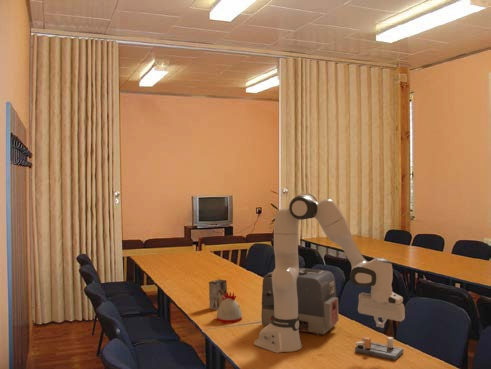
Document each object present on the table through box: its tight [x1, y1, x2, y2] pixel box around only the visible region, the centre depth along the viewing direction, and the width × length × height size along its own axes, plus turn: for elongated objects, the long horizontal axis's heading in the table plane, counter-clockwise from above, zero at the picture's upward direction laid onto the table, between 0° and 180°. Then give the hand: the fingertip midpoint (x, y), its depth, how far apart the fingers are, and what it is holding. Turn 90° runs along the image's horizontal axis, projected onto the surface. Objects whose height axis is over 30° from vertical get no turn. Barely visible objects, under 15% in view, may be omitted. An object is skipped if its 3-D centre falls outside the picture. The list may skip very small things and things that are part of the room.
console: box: [354, 341, 404, 361], centre depth 222 cm, size 18×11×3 cm, turn 54°
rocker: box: [354, 340, 365, 346], centre depth 224 cm, size 4×2×1 cm, turn 54°
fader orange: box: [365, 336, 372, 348], centre depth 222 cm, size 2×2×4 cm
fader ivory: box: [386, 336, 394, 348], centre depth 222 cm, size 2×2×4 cm
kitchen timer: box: [216, 291, 243, 324], centre depth 274 cm, size 14×14×15 cm
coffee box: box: [208, 279, 228, 311], centre depth 297 cm, size 9×6×16 cm
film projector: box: [261, 267, 340, 337], centre depth 258 cm, size 39×29×30 cm
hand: (380, 327), depth 218 cm, fingers closed
